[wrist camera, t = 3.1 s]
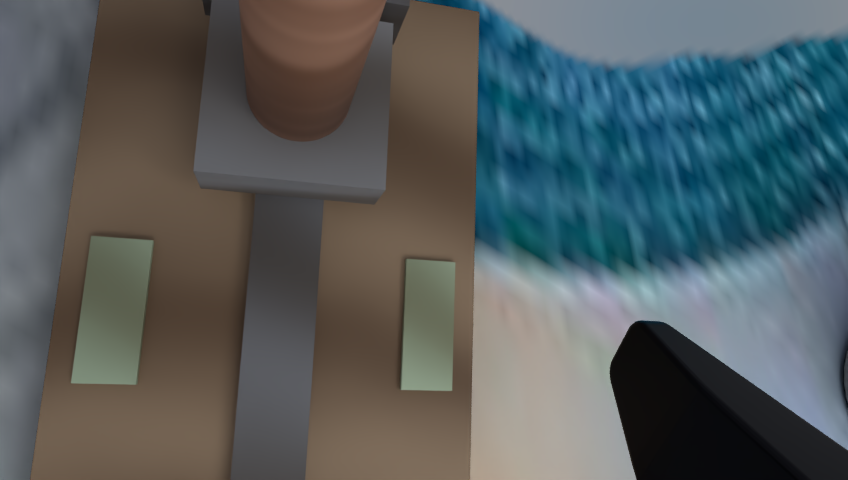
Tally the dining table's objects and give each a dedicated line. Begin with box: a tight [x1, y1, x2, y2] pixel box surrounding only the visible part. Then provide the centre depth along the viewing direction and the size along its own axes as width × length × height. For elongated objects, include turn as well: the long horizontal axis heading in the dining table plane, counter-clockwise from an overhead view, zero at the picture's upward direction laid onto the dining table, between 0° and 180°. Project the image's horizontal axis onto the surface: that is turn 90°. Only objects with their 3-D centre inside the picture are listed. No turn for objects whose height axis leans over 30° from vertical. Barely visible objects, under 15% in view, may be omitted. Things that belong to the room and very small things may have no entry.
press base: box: [30, 0, 479, 480], centre depth 17 cm, size 24×12×4 cm, turn 178°
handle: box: [193, 0, 393, 205], centre depth 13 cm, size 5×5×11 cm
